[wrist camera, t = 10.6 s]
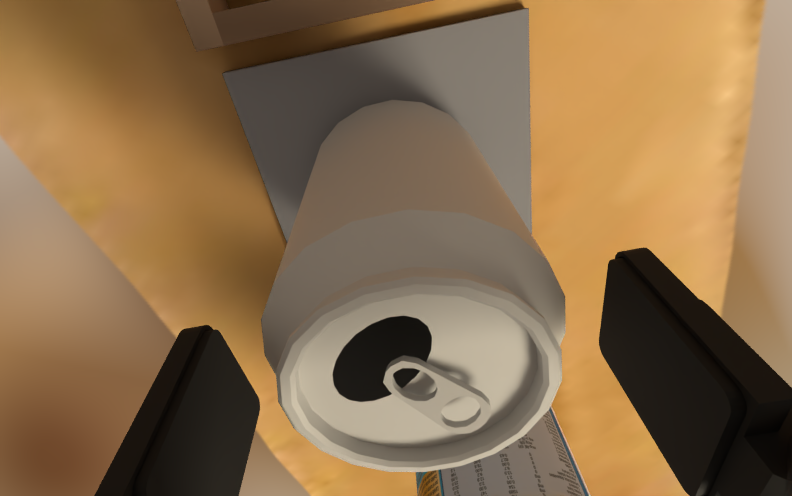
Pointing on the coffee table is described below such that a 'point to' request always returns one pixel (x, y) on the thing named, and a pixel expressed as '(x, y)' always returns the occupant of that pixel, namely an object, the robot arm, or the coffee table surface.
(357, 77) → the mat
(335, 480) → the coffee table surface
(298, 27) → the wooden picture frame
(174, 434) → the robot arm
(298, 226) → the can
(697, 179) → the coffee table surface
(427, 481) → the beverage bottle
